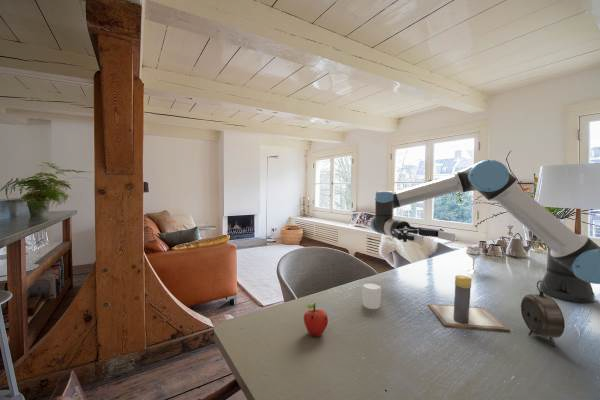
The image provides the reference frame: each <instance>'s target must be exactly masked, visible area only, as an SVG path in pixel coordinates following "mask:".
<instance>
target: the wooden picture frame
mask: <svg viewBox="0 0 600 400" xmlns="http://www.w3.org/2000/svg"><path fill="white" fill-rule="evenodd" d="M427 305H428V307H429V308H430V310H431V311H432V313H433V314H434V315H435V316H436V318H437V319H438V320H439V321H440V323H441V324H442V326H443V327H446V328H456V329H457V328H461V329H472V330H473V329H474V330H484V331H486V330H487V331H495V332H497V331H498V332H511V329H510V328H509V327H508V326H507V325H505V324H504V323H503V322H502V321H500V320H499V319H498V318H497V317H496V316H494V315H493V314H492V313H491V312H490V311H488V310H487V308H485V307H482V306H481V307H480V306H470V307H469V323H468V324H461V323H458V322H456V321H455V320H454V319H453V318H454V304H453V305H452V304H436V303H428V304H427Z"/></svg>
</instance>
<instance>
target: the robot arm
mask: <svg viewBox="0 0 600 400" xmlns="http://www.w3.org/2000/svg"><path fill="white" fill-rule="evenodd" d="M473 191H474V192H475V191H477V192H478V193H479V194H480V195H481V196H483V197H484V198H485V199H486V200H487V201H491V202H496V203H497V204H499V205H500V206H501V207H502V208H503V209H504V210H506V212H507V213H509V214H510V215H511V216H512V217H513V218H515V219H516V220H517V221H518V222H519V223H520V224H522V225H523V226H524V227H525V228H526V229H527V230H529V231H530V232H531V233H532V234H533V235H534V236H535V237H536V238H537V239H538V240H540V241H541V242H542V243H544V245H546V246H547V257H546V272H545V274H544V276H543V278H542V279H541V281H543V282H545V284H546V286H547V290H546V292H545V293H544V295H548V296H549V297H553V298H557V299H560V300H563V301H569V302H575V303H580V304H581V303H584V304H591V303H594V302H595V299H596V298H595V297H596V295H595V293H594V290H593V286H592V285H591V284H593V285H594V284H595V285H600V246H599V245H598V244H597V243H595V242H594V241H593V240H592V238H590V237H588V236H587V235H586V234H577V233H575V232H574V231H573V230H572V229H571V228H570V227H568V226H567V225H565V223H563V222H562V221H561V220H560V219H559V218H557V217H556V216H554V214H553V213H551V212H550V211H549V210H547V209H546V208H545V206H543V205H541V204H540V203H539V202H538V201H536V199H534V198H533V197H532V196H531V195H530V194H528V193H527V192H526V191H525V190H523V189H522V188H521V187H520V186H519V185H518V178H516V177H515V175H513V174H512V173H510V172H509V169H508V168H507V166H506V165H505V164H503V163H502V162H501V161H499V160H496V159H484V160H483V159H482V160H479V161H477V162H476V163H474V164H472V165H469V166H468V167H467V168H464V169H461V170H458V171H455V172H454V174H453V175H450V176H445V177H442V178H439V179H436V180H431V181H429V182H425V183H421V184H418V185H415V186H412V187H408V188H404V189H401V190H398V191H395V192H393V191H390V190H378V191H376V192H375V199H374V200H375V202H374V203H375V205H374V206H375V208H374V209H375V210H374V211H375V214H374V215H375V216H374V217H373V218H372V219H371V222H370V228H371V230H372V231H374V232H376V233H378V234H380V235H385V236H388V237H391V238H392V239H396V240H399V241H401V240H402V241H403V242H404V243H407V242H412V243H415V244H420V245H423V244H424V237H430V238H431V237H432V238H438V239H441V240H445V241H449V242H456V233H453V232H449V231H444V229H443V228H439V229H436V228H426V227H422V226H418V227H415V226H411V224H410V223H409V222H407V221H405V220H400V219H395V218H393V215H394V213H393V209H397V208H400V207H404V206H405V207H406V206H408V205H413V204H416V203H420V202H424V201H427V200H431V199H434V198H435V199H436V198H438V197H442V196H447V195H451V194H454V193H459V192H460V193H461V194H462V193H463V194H464V193H468V192H473ZM543 282H539V290H542V291H545V285H544V283H543Z"/></svg>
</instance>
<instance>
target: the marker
mask: <svg viewBox="0 0 600 400" xmlns="http://www.w3.org/2000/svg"><path fill="white" fill-rule="evenodd" d="M471 288H472V278H471V277H469V276H465V275H459V274H458V275H455V277H454V302H453V305H454V318H453V319H454V320H455V321H456V322H458V323H461V324H468V323H469V307H471V306H470V305H471V304H470V303H471Z"/></svg>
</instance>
